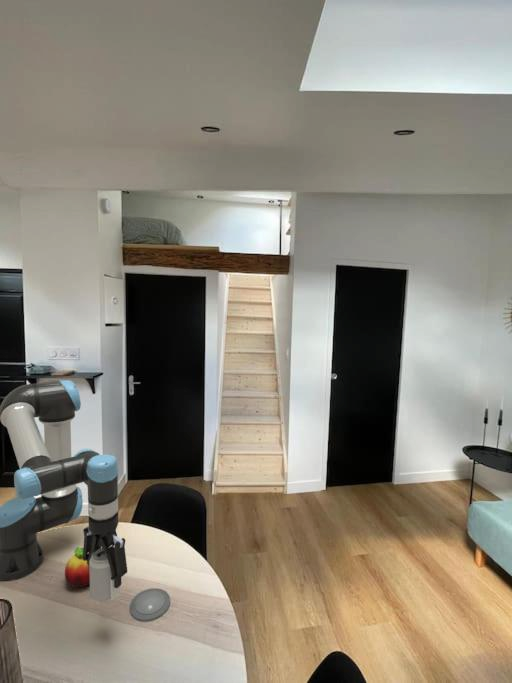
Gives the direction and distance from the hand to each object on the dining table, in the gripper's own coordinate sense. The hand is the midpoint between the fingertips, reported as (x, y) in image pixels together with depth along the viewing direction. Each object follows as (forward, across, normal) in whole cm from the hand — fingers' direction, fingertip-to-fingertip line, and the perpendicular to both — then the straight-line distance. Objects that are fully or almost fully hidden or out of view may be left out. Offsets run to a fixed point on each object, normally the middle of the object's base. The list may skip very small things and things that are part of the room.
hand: (105, 590), depth 105 cm
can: (+1, 0, 0) cm, 1 cm away
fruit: (+14, -24, +11) cm, 29 cm away
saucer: (+14, +4, +14) cm, 20 cm away
